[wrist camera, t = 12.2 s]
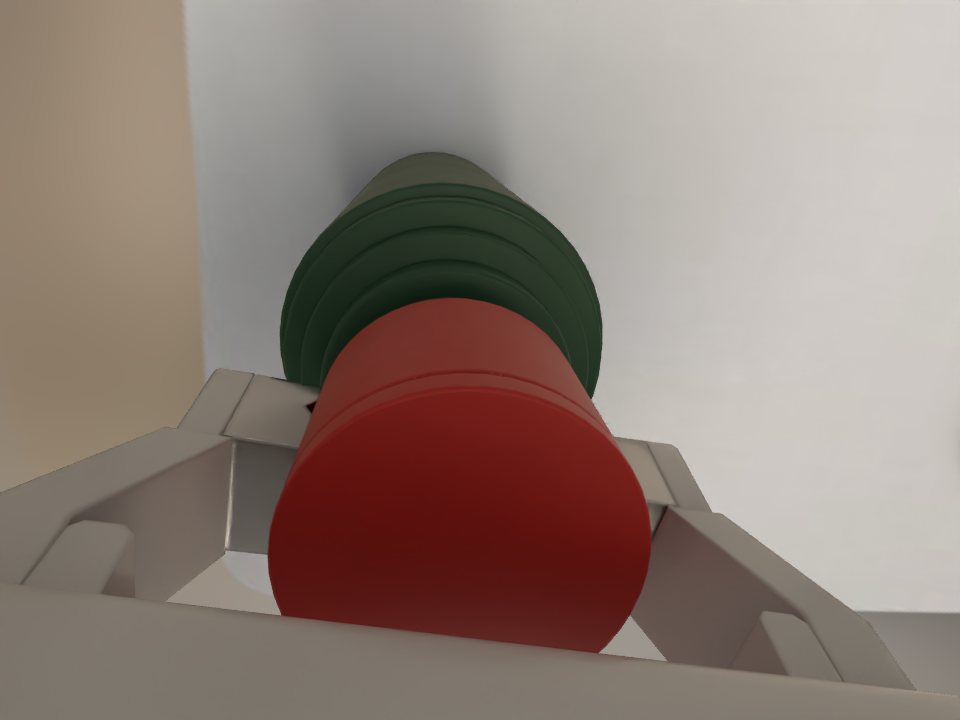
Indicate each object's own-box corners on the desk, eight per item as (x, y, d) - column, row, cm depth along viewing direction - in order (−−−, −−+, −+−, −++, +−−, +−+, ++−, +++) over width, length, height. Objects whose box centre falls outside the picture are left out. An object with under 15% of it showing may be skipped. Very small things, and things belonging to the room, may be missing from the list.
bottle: (536, 277, 27) (794, 626, 8) (395, 336, 27) (331, 801, 9) (477, 125, 25) (644, 126, 6) (324, 192, 25) (31, 391, 6)
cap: (386, 571, 10) (370, 759, 7) (264, 364, 9) (182, 489, 6) (615, 477, 10) (698, 631, 7) (524, 251, 9) (576, 319, 6)
